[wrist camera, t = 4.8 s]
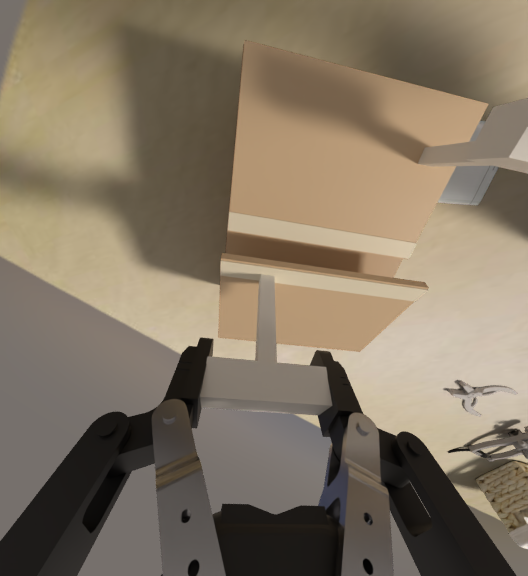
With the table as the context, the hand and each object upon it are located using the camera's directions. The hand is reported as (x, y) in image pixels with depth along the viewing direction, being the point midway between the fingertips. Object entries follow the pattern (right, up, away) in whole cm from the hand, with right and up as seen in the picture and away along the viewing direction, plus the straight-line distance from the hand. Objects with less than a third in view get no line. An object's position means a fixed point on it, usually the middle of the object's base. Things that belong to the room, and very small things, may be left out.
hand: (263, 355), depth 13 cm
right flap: (+4, +2, +7) cm, 8 cm away
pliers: (+46, -19, +35) cm, 61 cm away
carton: (+4, +13, +15) cm, 20 cm away
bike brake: (+62, -38, +46) cm, 86 cm away
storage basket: (+80, -56, +56) cm, 112 cm away
